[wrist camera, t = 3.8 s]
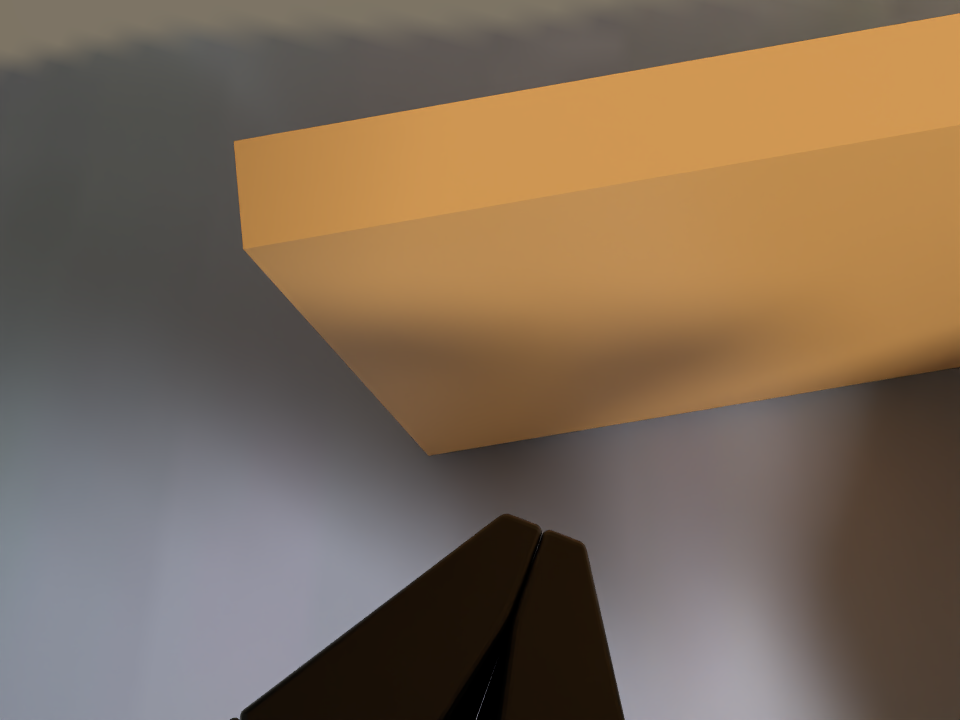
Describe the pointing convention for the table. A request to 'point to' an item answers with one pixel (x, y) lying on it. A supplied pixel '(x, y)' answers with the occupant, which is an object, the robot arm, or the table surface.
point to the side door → (630, 237)
